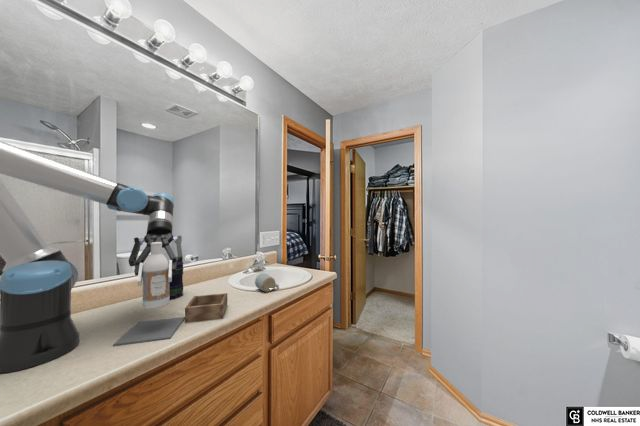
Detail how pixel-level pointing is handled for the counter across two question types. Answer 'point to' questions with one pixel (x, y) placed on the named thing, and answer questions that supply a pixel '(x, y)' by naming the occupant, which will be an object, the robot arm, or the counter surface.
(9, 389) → the counter surface
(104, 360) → the counter surface
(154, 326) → the rubber mat
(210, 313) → the wooden tray
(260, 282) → the ceramic mug
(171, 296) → the storage jar
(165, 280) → the bath foam
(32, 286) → the robot arm
